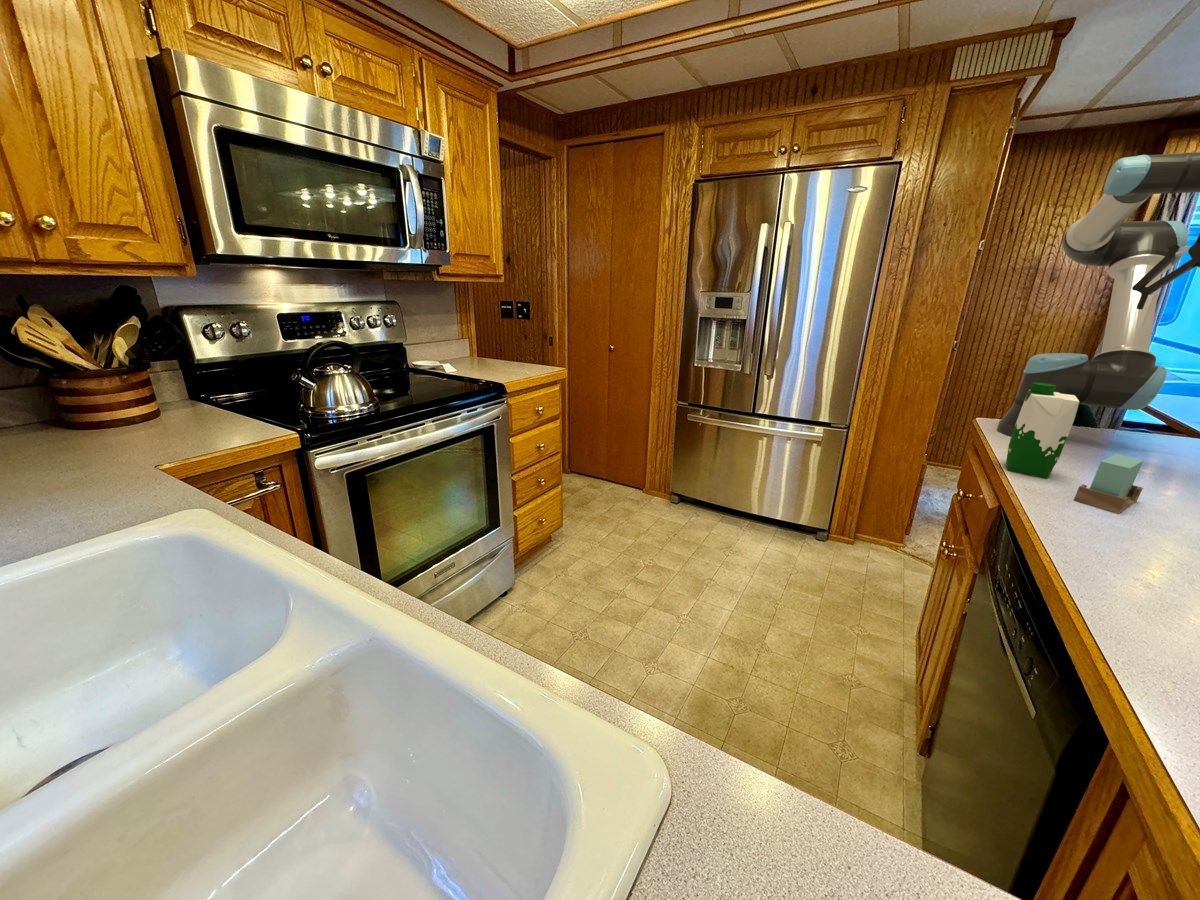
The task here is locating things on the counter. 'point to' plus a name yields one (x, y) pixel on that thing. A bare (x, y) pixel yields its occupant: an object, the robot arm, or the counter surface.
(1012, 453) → the milk carton
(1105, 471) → the key block
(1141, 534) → the counter surface
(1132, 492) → the holder
